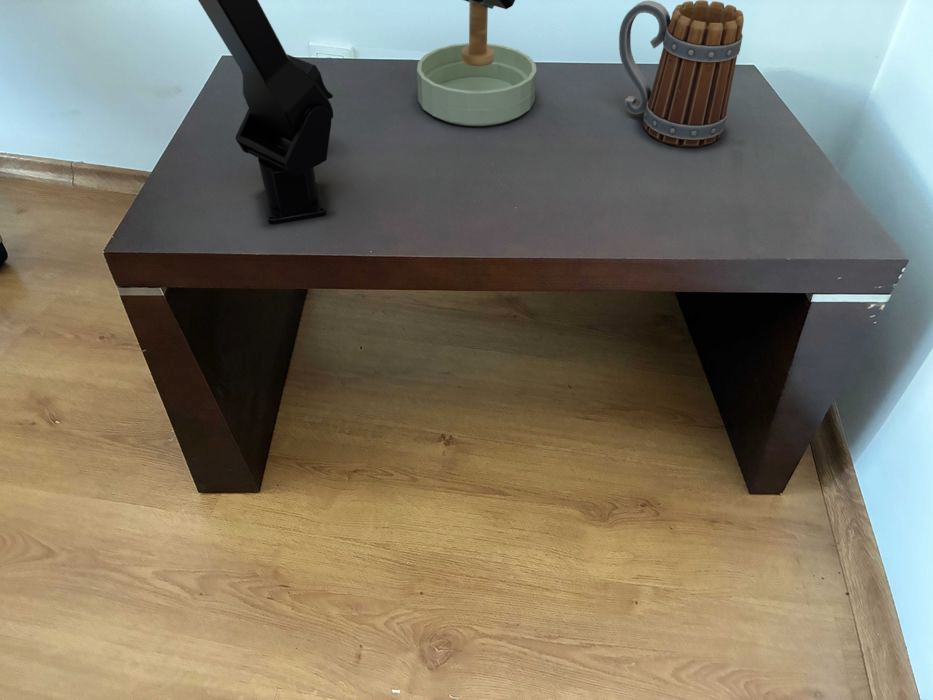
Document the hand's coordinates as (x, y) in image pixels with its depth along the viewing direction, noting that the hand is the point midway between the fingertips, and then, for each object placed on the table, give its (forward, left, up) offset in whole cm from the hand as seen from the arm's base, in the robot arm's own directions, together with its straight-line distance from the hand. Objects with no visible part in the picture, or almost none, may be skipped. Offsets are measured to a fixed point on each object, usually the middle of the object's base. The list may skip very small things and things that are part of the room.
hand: (485, 2), depth 92 cm
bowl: (-1, +1, -13) cm, 13 cm away
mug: (-15, -21, -13) cm, 29 cm away
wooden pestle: (-1, +1, -7) cm, 7 cm away
